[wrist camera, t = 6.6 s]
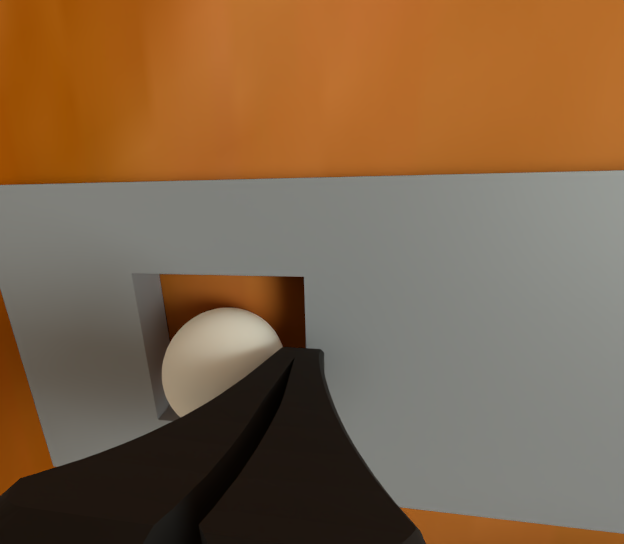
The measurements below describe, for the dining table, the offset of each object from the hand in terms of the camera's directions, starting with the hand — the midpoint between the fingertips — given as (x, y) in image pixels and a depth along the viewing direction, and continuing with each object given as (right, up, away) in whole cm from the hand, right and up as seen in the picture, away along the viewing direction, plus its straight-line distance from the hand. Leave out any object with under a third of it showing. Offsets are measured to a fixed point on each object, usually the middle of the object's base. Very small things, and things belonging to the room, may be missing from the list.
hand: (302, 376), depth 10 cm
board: (+2, +1, +2) cm, 3 cm away
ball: (-3, 0, +1) cm, 3 cm away
